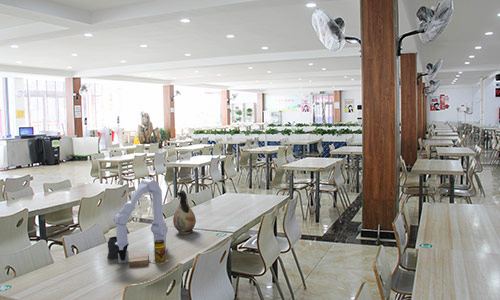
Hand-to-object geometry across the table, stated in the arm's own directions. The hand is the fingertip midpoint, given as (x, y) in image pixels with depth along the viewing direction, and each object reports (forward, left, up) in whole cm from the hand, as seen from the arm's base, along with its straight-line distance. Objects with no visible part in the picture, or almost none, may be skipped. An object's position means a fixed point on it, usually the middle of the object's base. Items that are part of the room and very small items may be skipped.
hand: (123, 258), depth 232 cm
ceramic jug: (-45, +36, -2) cm, 58 cm away
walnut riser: (+6, +9, -1) cm, 11 cm away
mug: (-10, -5, -2) cm, 11 cm away
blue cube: (0, 0, -2) cm, 2 cm away
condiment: (+6, +20, -2) cm, 21 cm away
